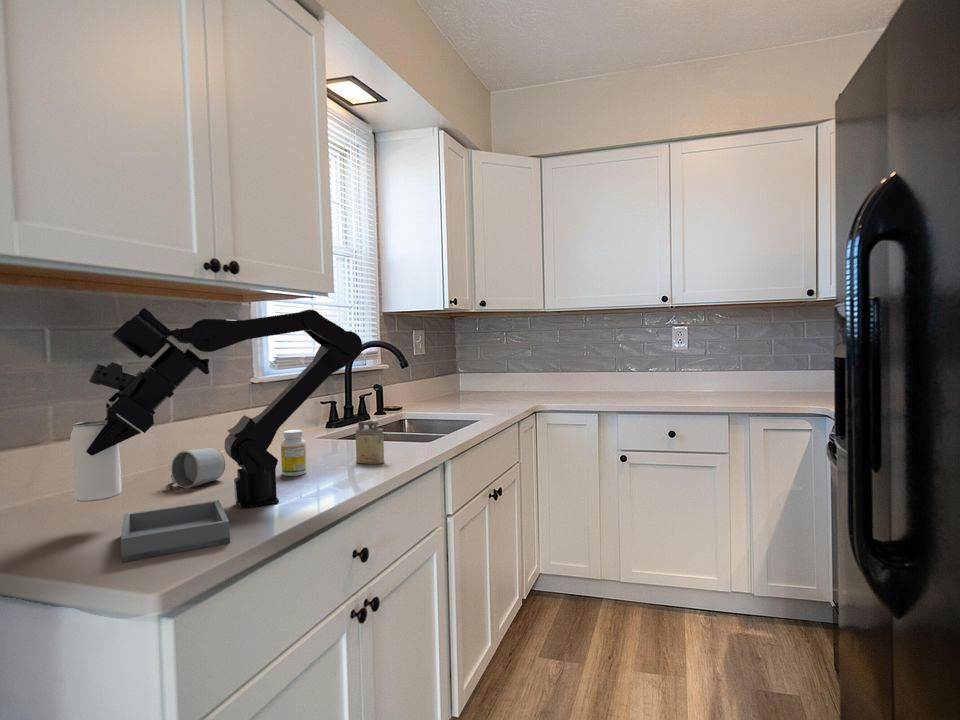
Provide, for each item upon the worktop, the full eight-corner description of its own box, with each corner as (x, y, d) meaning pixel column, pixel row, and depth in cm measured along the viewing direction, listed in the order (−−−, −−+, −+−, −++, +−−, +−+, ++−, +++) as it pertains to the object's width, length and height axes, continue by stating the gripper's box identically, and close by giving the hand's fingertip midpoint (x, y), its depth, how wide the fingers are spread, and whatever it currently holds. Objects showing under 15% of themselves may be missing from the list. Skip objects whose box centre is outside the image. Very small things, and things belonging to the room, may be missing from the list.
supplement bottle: (301, 476, 127) (300, 432, 127) (277, 476, 128) (276, 433, 127) (310, 470, 133) (308, 429, 132) (287, 470, 133) (285, 429, 133)
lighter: (386, 461, 141) (385, 420, 140) (380, 465, 137) (378, 422, 137) (360, 460, 143) (359, 420, 142) (352, 463, 139) (351, 422, 139)
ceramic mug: (229, 480, 125) (227, 444, 125) (198, 489, 118) (196, 452, 117) (192, 478, 129) (190, 443, 129) (160, 487, 121) (158, 450, 121)
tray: (219, 518, 98) (218, 500, 97) (230, 542, 86) (229, 521, 86) (124, 534, 91) (123, 513, 91) (122, 562, 79) (120, 539, 79)
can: (122, 497, 93) (118, 422, 92) (73, 504, 89) (68, 427, 89) (121, 489, 98) (117, 418, 98) (74, 495, 95) (70, 422, 94)
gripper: (119, 345, 103) (46, 413, 97) (123, 344, 87) (36, 426, 82) (172, 386, 108) (105, 453, 102) (185, 392, 92) (106, 472, 86)
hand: (89, 450), depth 93 cm, fingers closed on can, 6 cm apart
